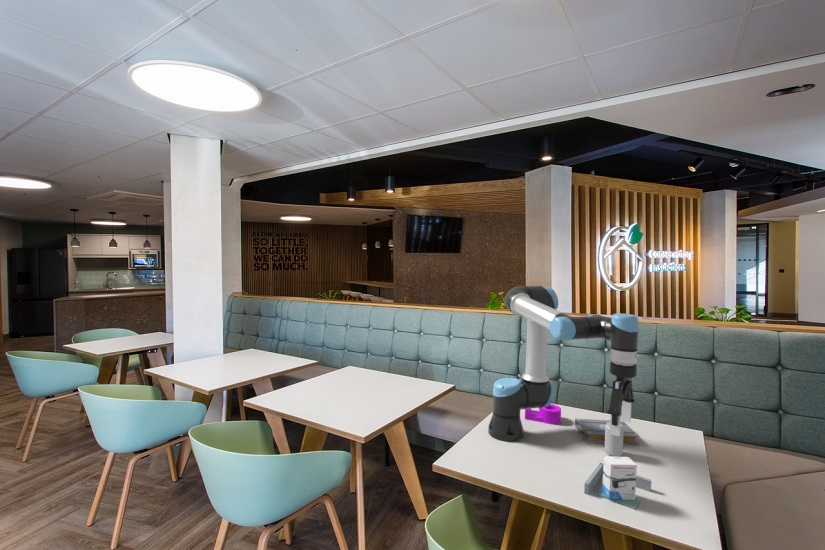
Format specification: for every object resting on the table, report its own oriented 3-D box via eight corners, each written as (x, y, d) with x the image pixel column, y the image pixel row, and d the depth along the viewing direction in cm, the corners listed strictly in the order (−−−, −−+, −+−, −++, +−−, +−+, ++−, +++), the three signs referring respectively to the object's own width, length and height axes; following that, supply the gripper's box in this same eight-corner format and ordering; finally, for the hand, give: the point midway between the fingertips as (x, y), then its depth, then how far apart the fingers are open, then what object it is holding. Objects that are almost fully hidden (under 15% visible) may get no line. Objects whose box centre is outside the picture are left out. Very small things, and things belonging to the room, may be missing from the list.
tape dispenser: (560, 418, 189) (561, 405, 188) (560, 426, 179) (561, 412, 179) (526, 412, 195) (527, 400, 194) (524, 420, 185) (525, 407, 185)
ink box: (609, 500, 124) (610, 463, 123) (601, 490, 129) (602, 455, 128) (636, 500, 124) (637, 464, 123) (627, 491, 129) (628, 456, 128)
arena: (584, 493, 128) (584, 482, 128) (599, 472, 141) (600, 462, 140) (639, 514, 117) (640, 503, 117) (650, 490, 130) (651, 479, 130)
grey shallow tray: (622, 429, 178) (622, 418, 178) (639, 446, 161) (639, 434, 161) (574, 426, 180) (574, 415, 180) (586, 443, 163) (587, 431, 163)
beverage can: (624, 458, 150) (626, 428, 150) (607, 456, 152) (608, 426, 151) (619, 450, 157) (620, 421, 156) (602, 449, 158) (603, 420, 157)
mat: (597, 494, 127) (597, 493, 127) (603, 485, 132) (603, 484, 132) (635, 509, 120) (635, 508, 120) (640, 499, 125) (640, 498, 125)
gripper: (626, 373, 112) (623, 445, 114) (645, 357, 131) (642, 419, 132) (599, 368, 117) (596, 437, 119) (620, 353, 136) (618, 413, 137)
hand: (620, 427), depth 125 cm, fingers open, 13 cm apart
